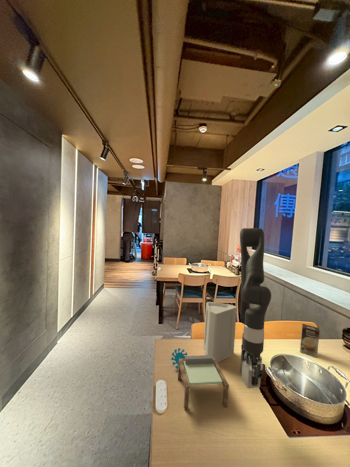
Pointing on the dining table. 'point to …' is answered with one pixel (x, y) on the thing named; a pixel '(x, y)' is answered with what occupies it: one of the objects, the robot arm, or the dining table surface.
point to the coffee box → (309, 340)
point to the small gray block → (248, 375)
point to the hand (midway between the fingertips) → (250, 379)
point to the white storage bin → (219, 330)
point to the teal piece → (178, 356)
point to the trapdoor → (201, 370)
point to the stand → (186, 398)
